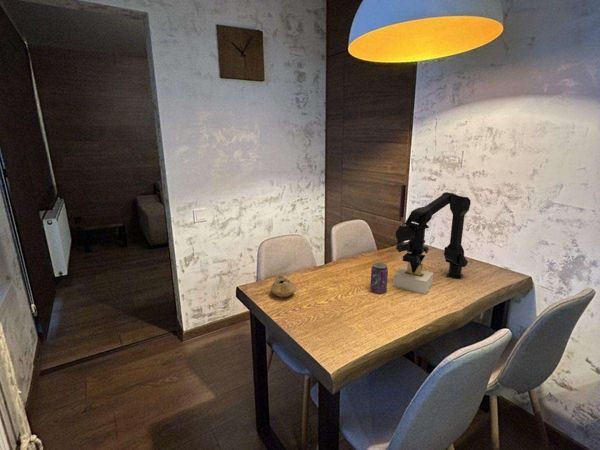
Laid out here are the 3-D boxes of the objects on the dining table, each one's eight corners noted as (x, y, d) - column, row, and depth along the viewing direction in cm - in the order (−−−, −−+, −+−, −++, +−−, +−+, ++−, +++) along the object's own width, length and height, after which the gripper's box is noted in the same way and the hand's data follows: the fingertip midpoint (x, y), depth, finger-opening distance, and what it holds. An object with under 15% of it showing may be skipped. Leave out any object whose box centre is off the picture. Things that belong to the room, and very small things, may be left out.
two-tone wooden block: (408, 271, 149) (409, 261, 148) (421, 274, 145) (422, 264, 144) (406, 273, 147) (407, 263, 146) (420, 276, 144) (421, 265, 142)
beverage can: (367, 288, 145) (368, 263, 142) (380, 286, 147) (382, 261, 144) (375, 295, 138) (377, 269, 136) (389, 292, 141) (391, 267, 138)
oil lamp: (286, 284, 149) (286, 268, 147) (301, 297, 136) (301, 280, 134) (264, 289, 144) (263, 272, 143) (277, 303, 132) (277, 285, 130)
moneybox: (402, 277, 156) (403, 266, 155) (432, 285, 148) (433, 272, 147) (393, 286, 147) (394, 274, 145) (425, 294, 139) (426, 281, 137)
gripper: (406, 231, 154) (403, 261, 158) (392, 240, 139) (389, 274, 143) (430, 234, 148) (427, 266, 151) (418, 245, 133) (415, 279, 137)
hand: (414, 271), depth 146 cm, fingers closed on two-tone wooden block, 2 cm apart
